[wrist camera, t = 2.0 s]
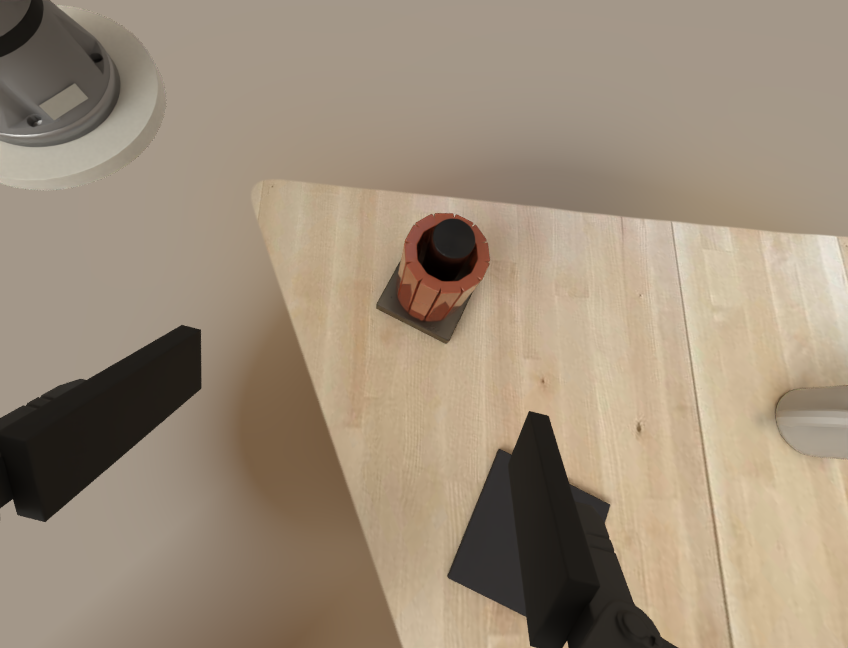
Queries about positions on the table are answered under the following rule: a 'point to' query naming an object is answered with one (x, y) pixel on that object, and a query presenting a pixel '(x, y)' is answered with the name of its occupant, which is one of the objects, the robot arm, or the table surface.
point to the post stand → (441, 262)
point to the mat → (499, 540)
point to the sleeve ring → (427, 291)
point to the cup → (815, 421)
